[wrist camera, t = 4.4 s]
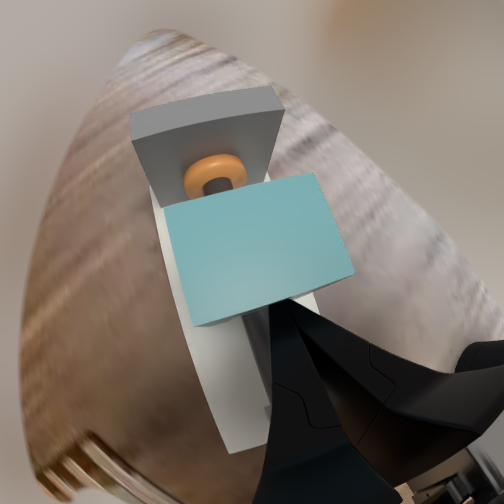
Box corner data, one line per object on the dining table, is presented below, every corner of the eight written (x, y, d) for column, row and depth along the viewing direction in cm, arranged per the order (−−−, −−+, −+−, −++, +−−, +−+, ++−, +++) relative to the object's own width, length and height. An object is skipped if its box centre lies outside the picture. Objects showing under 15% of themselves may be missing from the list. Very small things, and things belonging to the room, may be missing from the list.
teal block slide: (339, 404, 16) (414, 442, 8) (228, 444, 14) (235, 521, 6) (258, 169, 20) (279, 84, 12) (154, 196, 18) (119, 116, 10)
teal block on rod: (292, 300, 15) (355, 273, 8) (208, 326, 15) (193, 327, 7) (272, 243, 16) (313, 172, 9) (190, 266, 15) (163, 208, 8)
